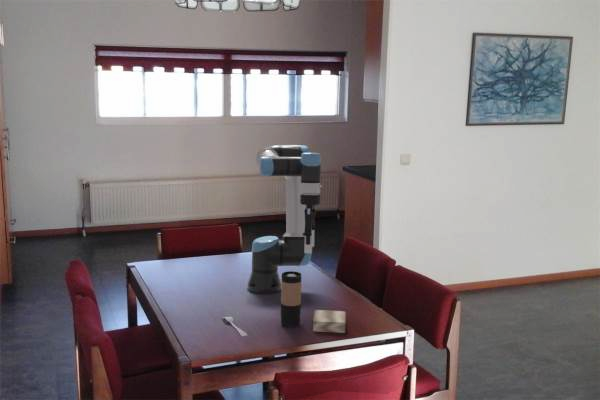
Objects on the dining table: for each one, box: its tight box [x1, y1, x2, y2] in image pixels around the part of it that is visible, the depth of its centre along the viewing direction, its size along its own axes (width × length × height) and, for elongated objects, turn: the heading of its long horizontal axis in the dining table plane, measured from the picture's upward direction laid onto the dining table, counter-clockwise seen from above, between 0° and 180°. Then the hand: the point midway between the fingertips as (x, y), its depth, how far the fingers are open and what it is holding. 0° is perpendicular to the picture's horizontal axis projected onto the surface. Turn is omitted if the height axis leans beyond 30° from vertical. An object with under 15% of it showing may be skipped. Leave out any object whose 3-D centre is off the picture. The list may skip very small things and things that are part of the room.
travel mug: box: [280, 271, 302, 328], centre depth 242 cm, size 8×8×20 cm
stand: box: [312, 309, 347, 334], centre depth 242 cm, size 12×12×4 cm
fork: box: [223, 316, 248, 337], centre depth 240 cm, size 3×21×3 cm, turn 30°
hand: (309, 249), depth 240 cm, fingers open, 13 cm apart
